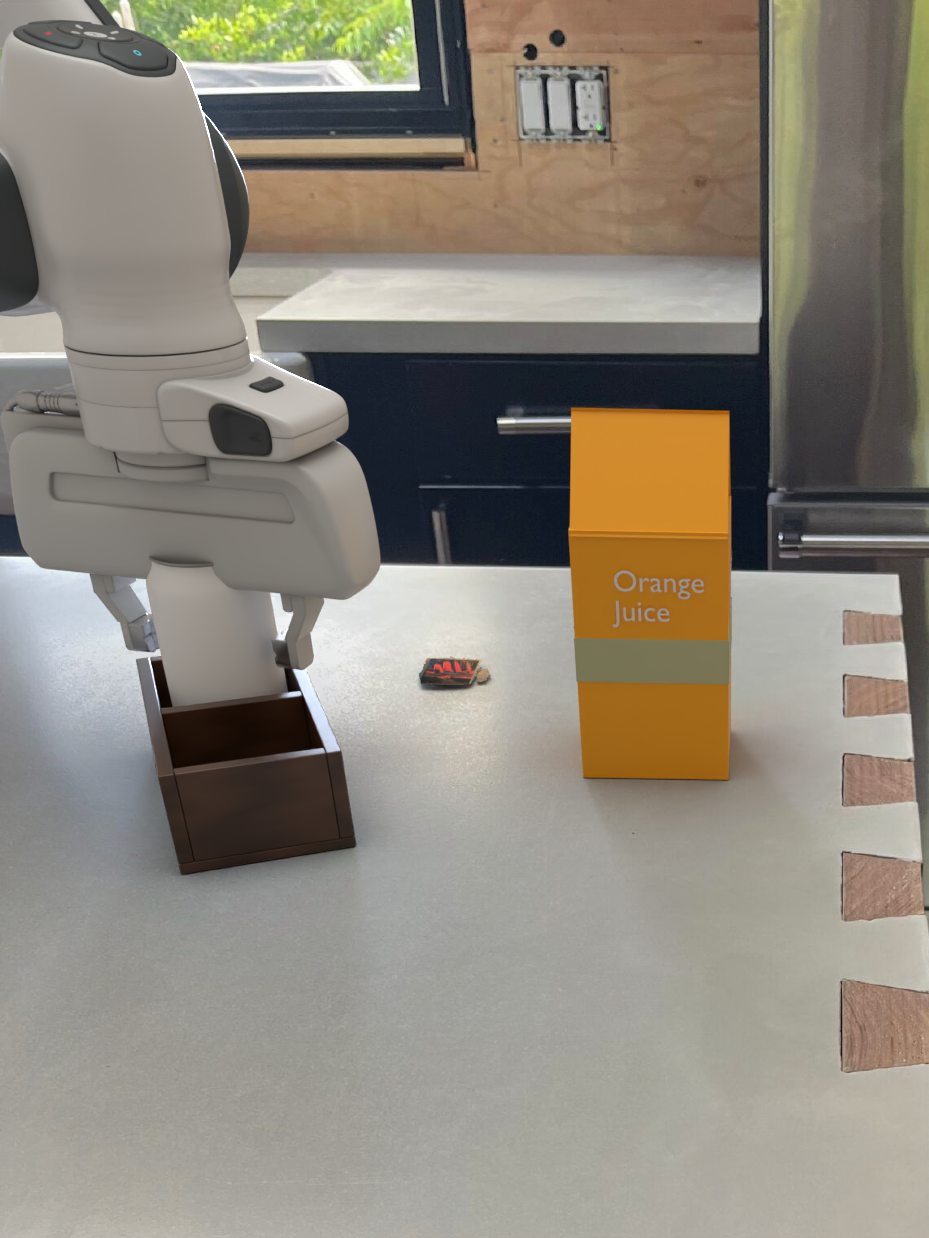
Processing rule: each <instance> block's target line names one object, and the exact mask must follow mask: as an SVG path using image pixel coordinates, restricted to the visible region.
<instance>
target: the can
mask: <svg viewBox="0 0 929 1238" xmlns="http://www.w3.org/2000/svg"><path fill="white" fill-rule="evenodd" d="M149 559H150V560H151V561H152V567H151V570H150V572H149V574H148V577H147V579H145V586H146V587H145V588H146V593H147V597H148V602H149V607H150V611H151V614H152V617H153V621H154V626H155V630H156V635H157V639H158V644H159V648H160V649H159V652H160V653H159V654H160V656H161V657H162V662H163V666H164V671H165V675H166V680H167V684H168V689H169V693H170V697H171V702H172V706H173V707H177V706H185V705H193V704H201V703H209V702H217V701H225V700H233V699H241V698H249V697H257V696H265V695H273V694H281V693H288V689H287V684H286V678H285V672H284V668H280V667H278V666H277V665H276V663H275V657H276V654H275V652H274V651H273V647H272V641H271V639H273V638H274V637H276V636H277V635H279V633H278V627H277V622H276V621H277V620H276V617H275V616H276V615H275V611H274V606H273V599H272V595H271V594H272V593H270V592H260V591H251V590H241V589H233V588H229V587H228V586H226V585H225V584H224V583H223V582H222V581H221V580H220V579H219V578H218V577H217V576H216V575H215V573H214V571H213V568H212V566H214V563H204V564H174V563H167V562H162V561H158V560H156V559H154V558H152V557H151V556H149Z"/></svg>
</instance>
